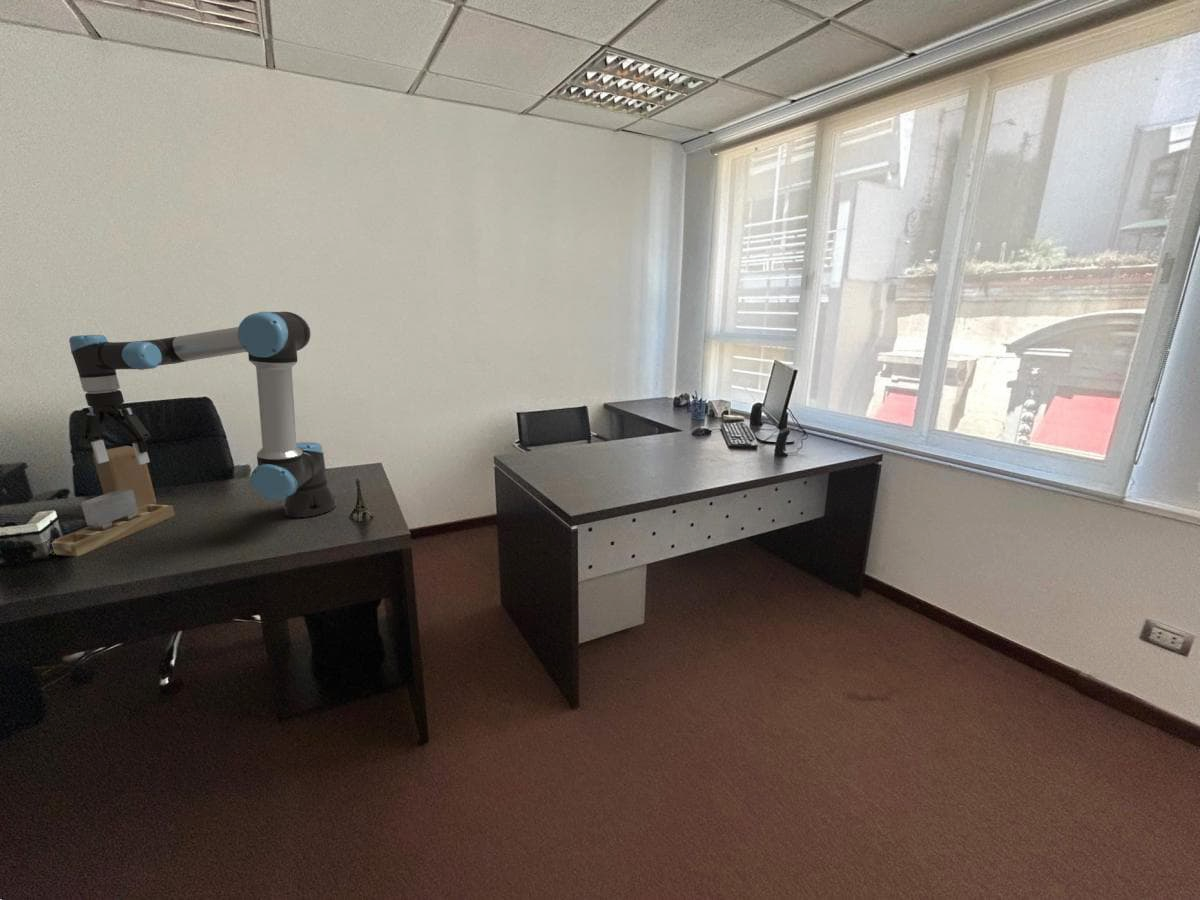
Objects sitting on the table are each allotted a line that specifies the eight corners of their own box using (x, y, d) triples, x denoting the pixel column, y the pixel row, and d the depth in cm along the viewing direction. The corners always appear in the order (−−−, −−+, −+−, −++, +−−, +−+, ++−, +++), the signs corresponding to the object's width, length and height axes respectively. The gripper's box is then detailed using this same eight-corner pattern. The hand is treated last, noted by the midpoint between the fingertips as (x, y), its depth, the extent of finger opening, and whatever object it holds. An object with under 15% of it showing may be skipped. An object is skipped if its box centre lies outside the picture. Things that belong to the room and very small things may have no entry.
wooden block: (158, 504, 172) (144, 448, 166) (122, 514, 163) (106, 456, 157) (142, 499, 176) (128, 444, 170) (106, 509, 167) (90, 452, 161)
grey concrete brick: (142, 526, 155) (132, 489, 152) (103, 541, 145) (92, 503, 141) (131, 525, 156) (121, 488, 152) (92, 540, 145) (80, 502, 142)
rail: (175, 515, 163) (172, 505, 162) (77, 556, 136) (74, 544, 135) (150, 513, 164) (148, 503, 163) (49, 554, 137) (46, 542, 136)
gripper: (154, 389, 143) (173, 459, 149) (79, 388, 146) (100, 457, 152) (128, 393, 136) (148, 467, 142) (49, 392, 139) (72, 465, 145)
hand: (123, 462), depth 147 cm, fingers open, 13 cm apart
